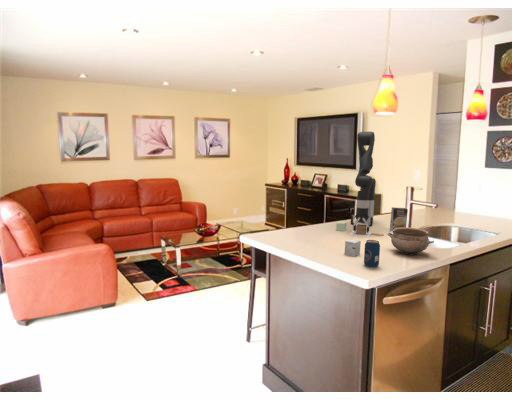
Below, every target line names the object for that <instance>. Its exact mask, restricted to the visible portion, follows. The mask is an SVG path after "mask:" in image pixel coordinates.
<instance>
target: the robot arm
mask: <svg viewBox="0 0 512 400" xmlns="http://www.w3.org/2000/svg"><path fill="white" fill-rule="evenodd" d="M356 136H357V137H356V141H357V142H356V143H357V147H358V149H357V150H358V164H359V165H358V173H357V175H356V177H355V181H354V183H355V186H357V187H360V190H358V191H357V196H356V197H357V199H356V211H355V215H354V214H352V215H350V225H352V226H353V227H352V231H356V226H357V225H358V223H361V224H364V225H366V232H367V233H370V227H373V224H374V211H375V210H374V209H375V192H376V179H375V178H374V177H372V176H370V175H368V174H370V173H371V171H372V169H373V167H374V159H373V153H374V148H375V147H374V145H375V141H376V139H375V138H376V137H375V132H374V131H359V132H358V133H357V135H356ZM366 146H367V147H368V148H367V149H366V148H365V147H366ZM354 219H356V220H355V222H354Z"/></svg>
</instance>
